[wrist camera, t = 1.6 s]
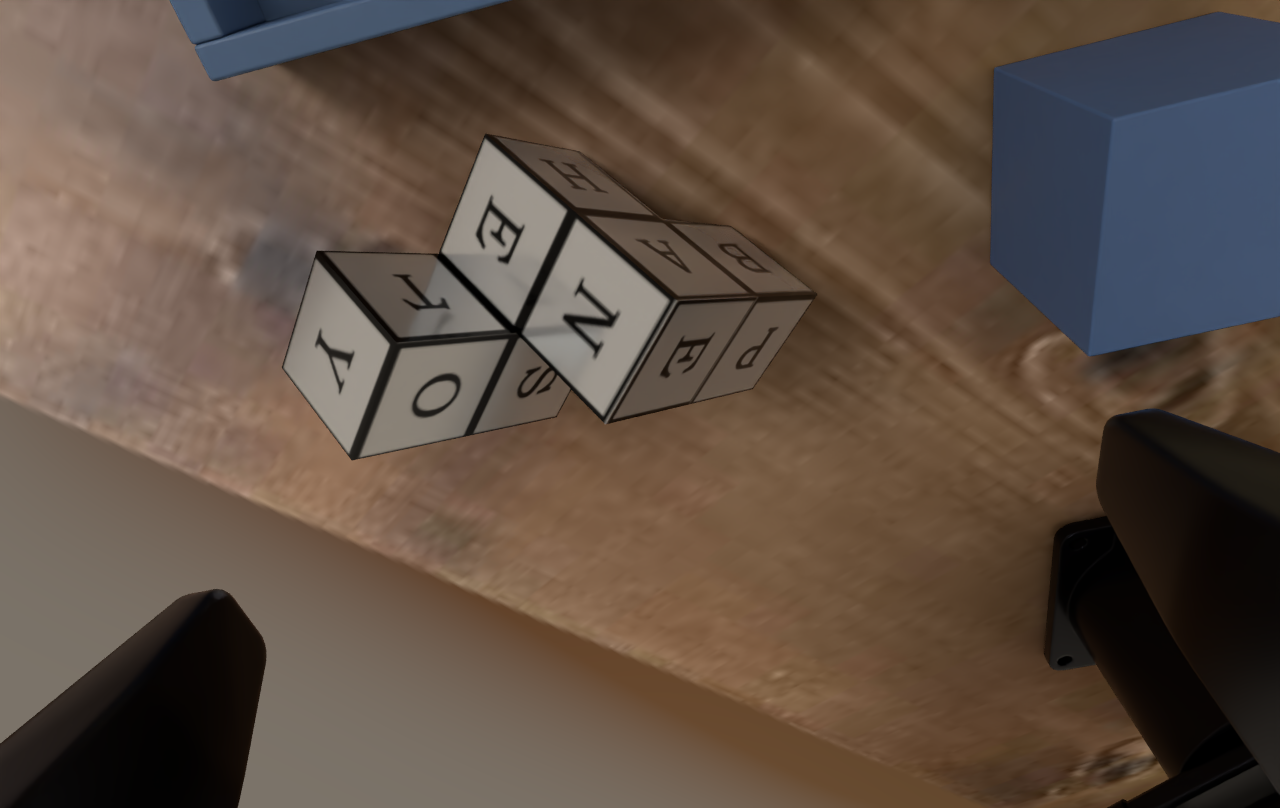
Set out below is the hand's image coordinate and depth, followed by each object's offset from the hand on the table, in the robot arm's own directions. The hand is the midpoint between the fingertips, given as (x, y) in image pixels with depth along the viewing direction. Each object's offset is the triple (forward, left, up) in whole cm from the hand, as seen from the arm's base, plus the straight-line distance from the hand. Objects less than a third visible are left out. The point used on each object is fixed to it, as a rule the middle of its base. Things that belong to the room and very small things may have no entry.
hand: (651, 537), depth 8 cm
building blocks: (-1, +2, -11) cm, 12 cm away
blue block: (-1, -10, -11) cm, 15 cm away
